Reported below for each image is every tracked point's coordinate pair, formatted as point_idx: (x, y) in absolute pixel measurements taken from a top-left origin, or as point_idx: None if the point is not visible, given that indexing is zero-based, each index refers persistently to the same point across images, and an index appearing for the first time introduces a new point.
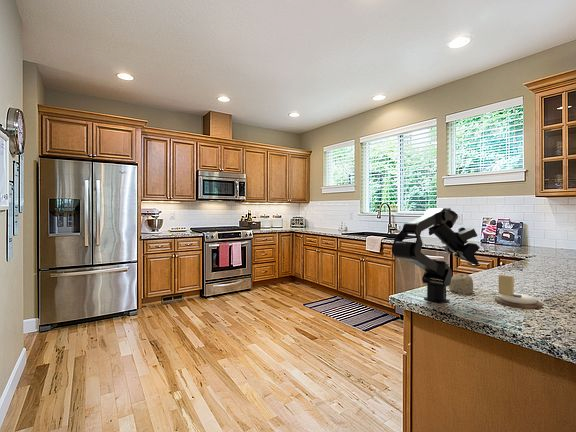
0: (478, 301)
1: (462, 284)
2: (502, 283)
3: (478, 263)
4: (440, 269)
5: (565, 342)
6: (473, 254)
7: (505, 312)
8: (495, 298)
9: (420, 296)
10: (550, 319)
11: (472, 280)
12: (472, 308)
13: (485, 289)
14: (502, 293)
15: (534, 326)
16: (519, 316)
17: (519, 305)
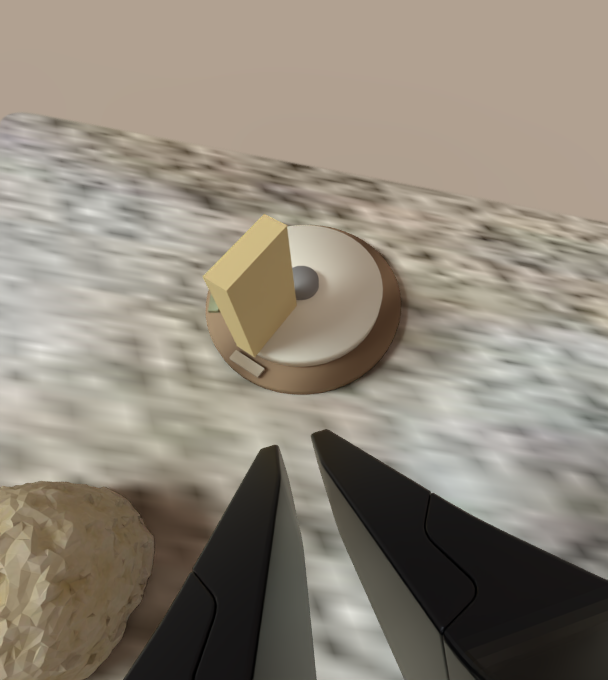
0: None
1: (112, 585)
2: (258, 306)
3: (332, 436)
4: None
5: None
6: (525, 545)
7: (530, 387)
8: (295, 387)
9: None
10: (524, 250)
11: (42, 485)
12: (568, 559)
13: (21, 399)
14: (266, 339)
15: None
16: (563, 342)
17: (398, 307)
